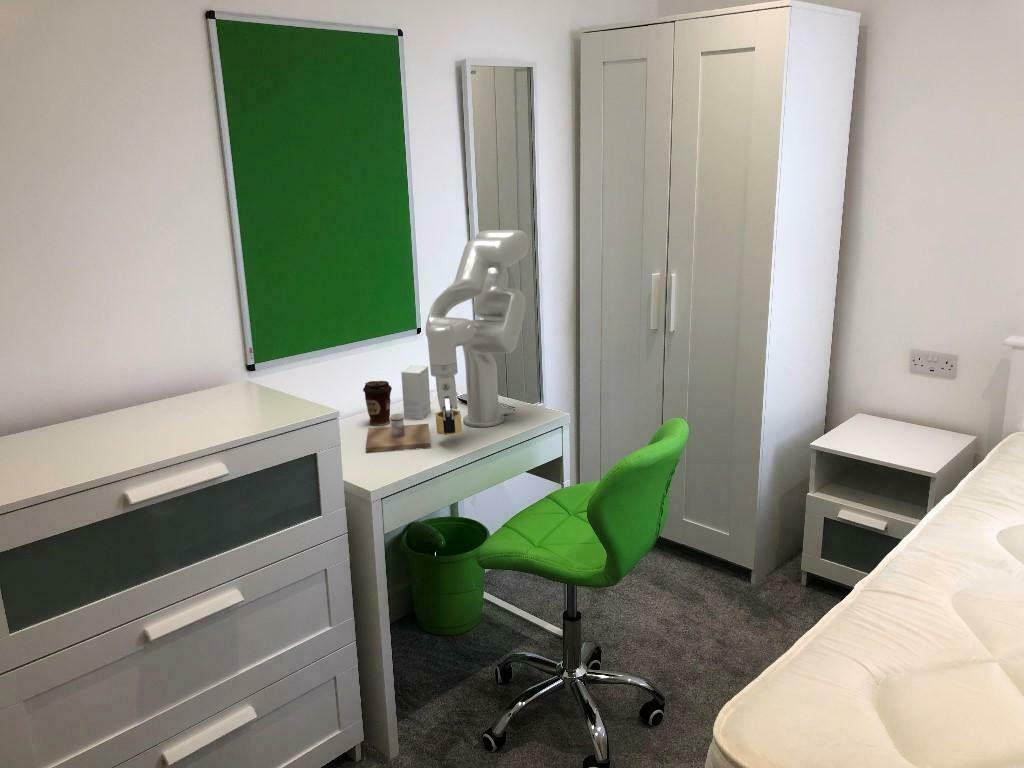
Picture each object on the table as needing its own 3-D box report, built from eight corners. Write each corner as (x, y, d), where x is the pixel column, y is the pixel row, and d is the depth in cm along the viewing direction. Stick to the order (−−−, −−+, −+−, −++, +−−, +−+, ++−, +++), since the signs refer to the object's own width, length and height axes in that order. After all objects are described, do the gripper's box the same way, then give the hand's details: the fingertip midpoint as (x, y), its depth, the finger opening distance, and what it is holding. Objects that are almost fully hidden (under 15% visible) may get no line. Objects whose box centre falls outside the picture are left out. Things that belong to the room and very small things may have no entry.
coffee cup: (377, 429, 253) (373, 388, 250) (360, 424, 259) (356, 383, 255) (399, 421, 259) (396, 381, 256) (382, 417, 265) (379, 377, 261)
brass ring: (460, 425, 241) (459, 408, 239) (462, 433, 234) (461, 416, 233) (436, 427, 240) (434, 411, 239) (437, 436, 233) (435, 419, 232)
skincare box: (413, 411, 270) (410, 364, 266) (432, 412, 268) (429, 365, 264) (403, 419, 262) (399, 371, 258) (423, 420, 260) (419, 371, 256)
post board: (428, 428, 252) (427, 404, 250) (430, 447, 235) (428, 422, 233) (368, 432, 250) (366, 408, 248) (366, 452, 233) (363, 427, 231)
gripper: (459, 376, 224) (464, 437, 229) (455, 358, 240) (460, 416, 246) (431, 378, 223) (437, 440, 228) (429, 361, 239) (434, 419, 245)
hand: (448, 427), depth 237 cm, fingers closed on brass ring, 7 cm apart
